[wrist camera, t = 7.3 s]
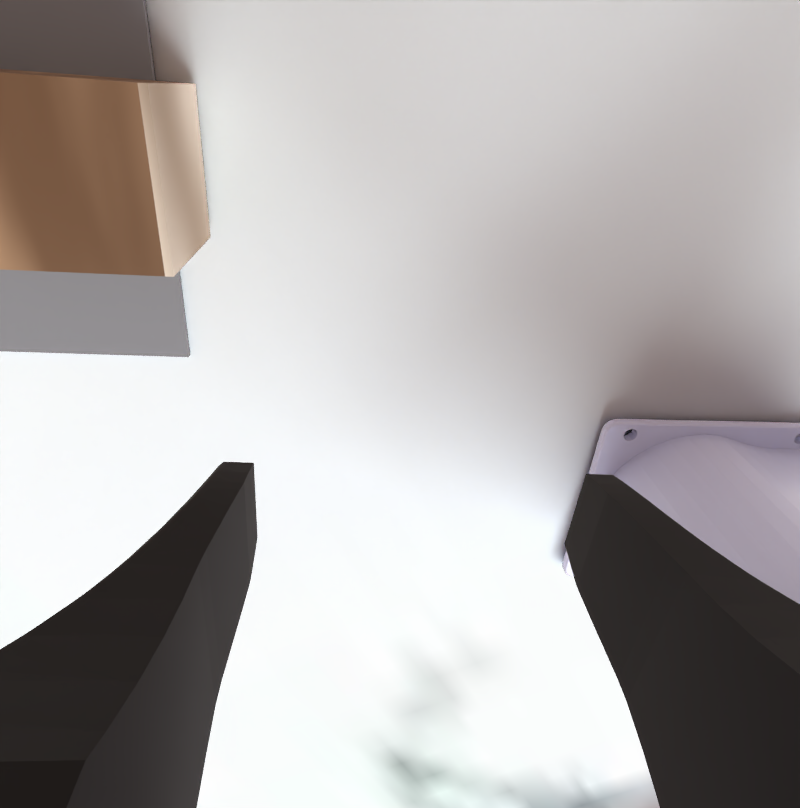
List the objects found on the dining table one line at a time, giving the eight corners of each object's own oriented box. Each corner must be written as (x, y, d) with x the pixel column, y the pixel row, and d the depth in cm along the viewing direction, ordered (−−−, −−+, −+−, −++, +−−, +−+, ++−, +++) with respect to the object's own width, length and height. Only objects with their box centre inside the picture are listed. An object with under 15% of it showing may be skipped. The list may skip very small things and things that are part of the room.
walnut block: (147, 83, 11) (-235, 54, 11) (173, 276, 13) (-148, 263, 13) (195, 83, 15) (-91, 62, 14) (210, 237, 17) (-40, 224, 16)
